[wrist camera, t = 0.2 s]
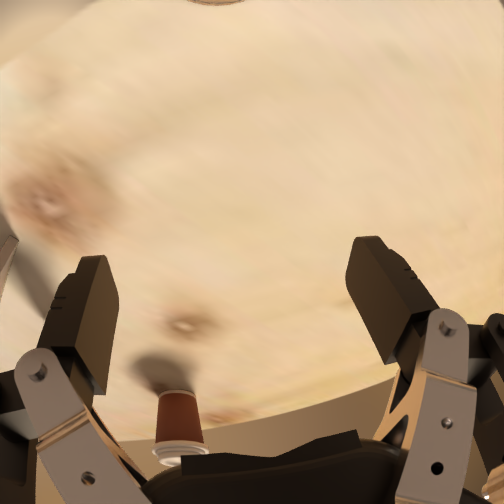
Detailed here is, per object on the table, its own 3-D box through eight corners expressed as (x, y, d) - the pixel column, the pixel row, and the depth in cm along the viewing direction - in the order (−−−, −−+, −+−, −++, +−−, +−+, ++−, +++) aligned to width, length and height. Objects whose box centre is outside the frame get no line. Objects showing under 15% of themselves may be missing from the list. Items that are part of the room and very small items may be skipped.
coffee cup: (149, 405, 51) (150, 466, 42) (153, 382, 46) (153, 453, 37) (198, 409, 54) (204, 469, 45) (209, 387, 49) (216, 455, 40)
